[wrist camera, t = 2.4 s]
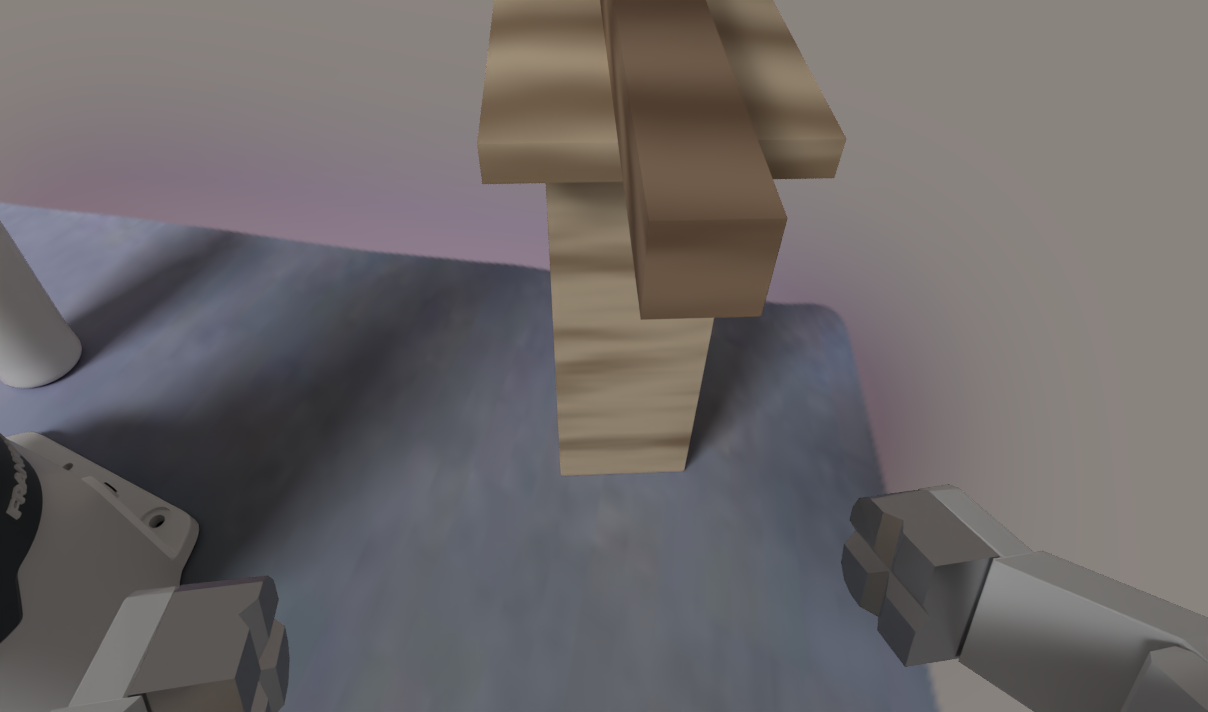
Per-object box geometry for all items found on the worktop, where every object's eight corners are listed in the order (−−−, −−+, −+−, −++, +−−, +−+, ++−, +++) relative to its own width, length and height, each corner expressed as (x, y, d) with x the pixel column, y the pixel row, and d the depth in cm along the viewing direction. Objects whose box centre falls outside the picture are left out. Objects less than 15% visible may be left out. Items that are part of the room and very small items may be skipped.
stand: (725, 525, 43) (846, 138, 23) (528, 534, 42) (477, 144, 22) (689, 335, 53) (750, -42, 33) (532, 340, 53) (498, -43, 33)
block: (761, 316, 17) (787, 218, 15) (641, 319, 17) (648, 221, 15) (661, -26, 32) (667, -102, 29) (596, -26, 32) (597, -102, 29)
